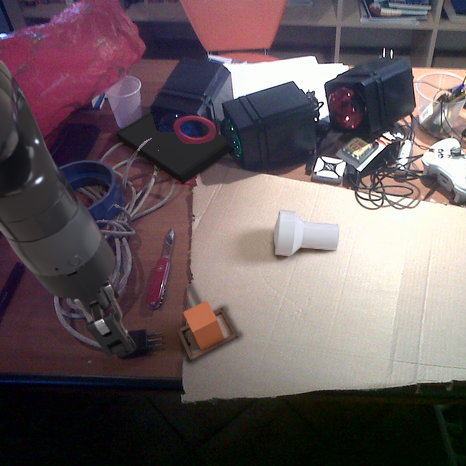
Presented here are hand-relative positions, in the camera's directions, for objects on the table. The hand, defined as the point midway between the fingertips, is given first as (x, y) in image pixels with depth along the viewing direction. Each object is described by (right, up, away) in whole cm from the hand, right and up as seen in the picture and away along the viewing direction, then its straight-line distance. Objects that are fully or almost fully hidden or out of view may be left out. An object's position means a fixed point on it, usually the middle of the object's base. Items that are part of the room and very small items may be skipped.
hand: (119, 324), depth 61 cm
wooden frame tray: (+5, -2, +20) cm, 21 cm away
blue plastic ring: (-21, +17, +37) cm, 45 cm away
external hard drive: (-6, +31, +48) cm, 57 cm away
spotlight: (+23, +9, +28) cm, 37 cm away
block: (+8, -5, +16) cm, 19 cm away
